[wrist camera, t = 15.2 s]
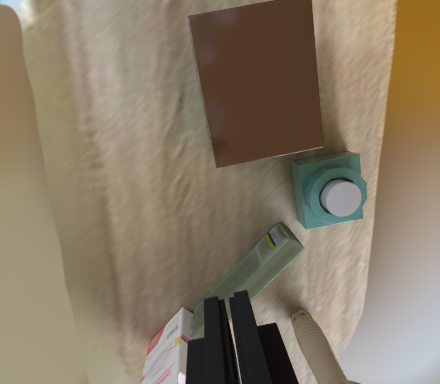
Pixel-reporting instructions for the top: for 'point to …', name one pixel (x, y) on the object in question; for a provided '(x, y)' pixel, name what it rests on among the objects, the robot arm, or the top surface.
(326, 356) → the handle
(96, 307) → the top surface
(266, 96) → the brown rectangular panel
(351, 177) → the flush button base
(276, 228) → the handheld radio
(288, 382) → the robot arm
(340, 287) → the top surface
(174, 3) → the top surface
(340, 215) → the flush button
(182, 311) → the ink cartridge box
